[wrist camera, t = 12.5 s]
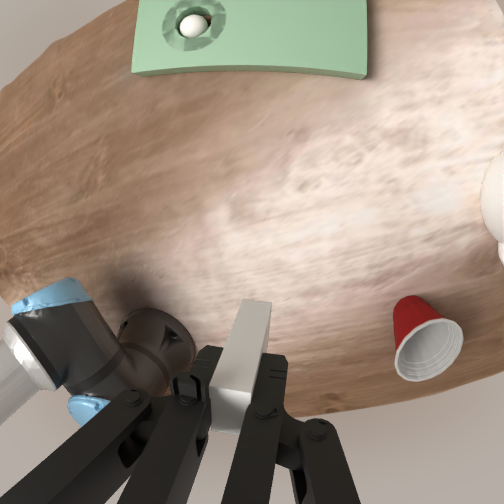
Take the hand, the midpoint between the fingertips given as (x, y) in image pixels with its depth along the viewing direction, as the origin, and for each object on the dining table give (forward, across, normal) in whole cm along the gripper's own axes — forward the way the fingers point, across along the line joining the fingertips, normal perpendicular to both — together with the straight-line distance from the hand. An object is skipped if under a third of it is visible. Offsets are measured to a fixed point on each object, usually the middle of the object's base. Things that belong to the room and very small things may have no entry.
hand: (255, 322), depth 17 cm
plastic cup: (+31, +22, -15) cm, 41 cm away
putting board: (+30, -7, +26) cm, 41 cm away
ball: (+28, -14, +26) cm, 41 cm away
